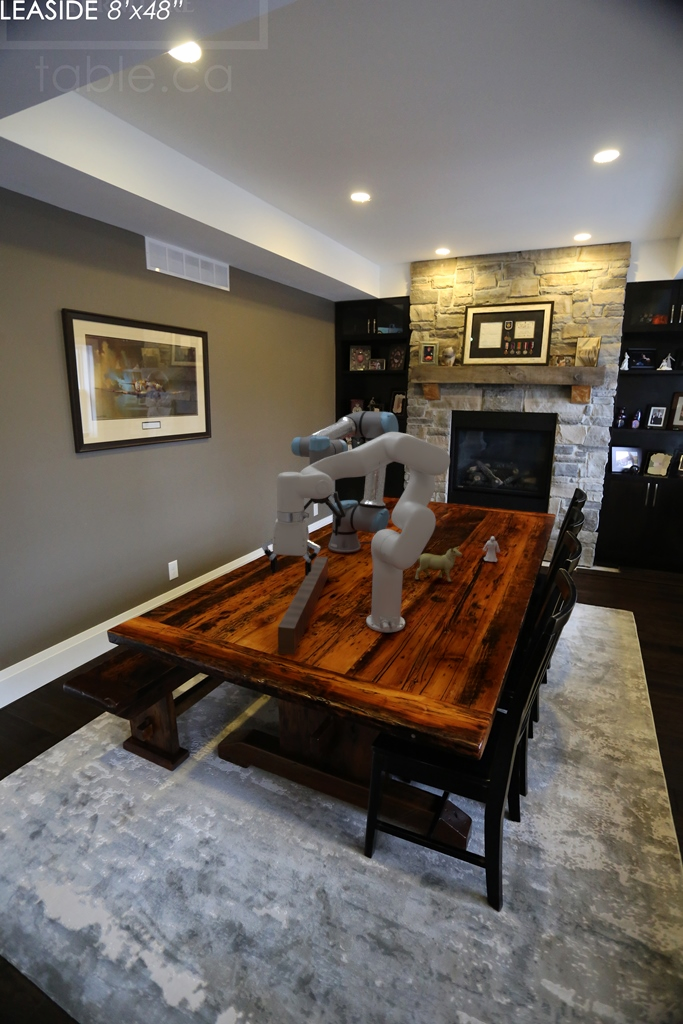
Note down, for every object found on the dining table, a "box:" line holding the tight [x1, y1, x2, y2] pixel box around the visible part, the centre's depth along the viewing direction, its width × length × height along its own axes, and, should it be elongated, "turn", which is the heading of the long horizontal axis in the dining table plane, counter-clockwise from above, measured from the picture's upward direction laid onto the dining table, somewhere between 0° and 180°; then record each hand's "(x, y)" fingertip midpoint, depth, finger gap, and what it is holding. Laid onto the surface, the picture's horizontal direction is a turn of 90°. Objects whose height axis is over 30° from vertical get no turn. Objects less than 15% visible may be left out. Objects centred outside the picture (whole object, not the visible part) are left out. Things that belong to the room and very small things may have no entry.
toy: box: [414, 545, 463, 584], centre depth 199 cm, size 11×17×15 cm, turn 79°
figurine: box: [482, 535, 501, 563], centre depth 223 cm, size 8×8×12 cm
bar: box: [277, 556, 329, 656], centre depth 172 cm, size 61×5×8 cm, turn 172°
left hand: (318, 533), depth 190 cm, fingers open, 13 cm apart
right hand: (291, 572), depth 145 cm, fingers open, 9 cm apart
